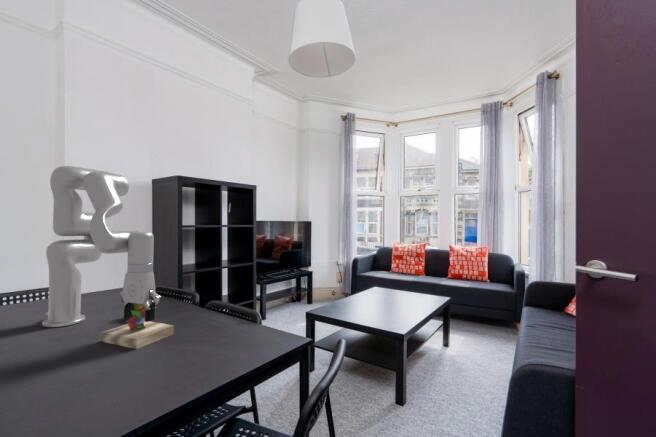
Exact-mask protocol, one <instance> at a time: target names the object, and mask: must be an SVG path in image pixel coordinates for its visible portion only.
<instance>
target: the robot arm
mask: <svg viewBox="0 0 656 437" xmlns="http://www.w3.org/2000/svg"><path fill="white" fill-rule="evenodd" d="M49 182H50V189H51V193H52V196H53V212H52V213H53V214H52V216H53V217H52V220H53V221H52V229H53V232H54V233H55V235H57V236H61V237H83V238H82V239H62V240H61V239H60V240H56V241H53V242H51V243H49V244H48V246H47V247H46V253H45V256H46V259H47V265H48V266H47V267H48V305H47V306H48V311H46V312H45V315H46V316H47V319H45V320H43V321H42V323H41V326H42V327H44V328H58V327H59V328H60V327H65V326H66V327H67V326H71V325H76V324H79V323H82V322H83V321H85V320H86V315H84V314H81V306H82V305H81V304H82V303H81V302H82V301H81V300H82V273H81V271H80V270H79V269H78V268H77V266H76V265H78V264H85V263H93V262H96V261H98V260H99V259H101V256H102V254H106V255H109V254H110V255H111V254H123V253H127V266H126V267H127V271H126V272H125V275H124V281H123V286H122V287H123V289H122V291H120V292H119V294H120V297H121V301H122V307H123V319H130V318H131V317H132V316H133V315H132V312H131V310H132V311H134V304H133V303H135V304H143V303H144V305H145V306H146V308H147V310H145V322H149V321H150V322H153V321H154V320H155V318H156V317H155V316H156V315H155V314H156V308H157V306H158V305H159V302H160V300H161V295H159V294H158V293H157V292H156V282H155V281H156V280H155V274H154V254H155V253H154V248H155V247H154V246H155V244H154V242H155V240H154V238H155V237H154V234H153V233H152V232H149V231H137V230H109V228H108V226H107V224H106V219H107V218H111V217H114V216H115V215H117V214H119V213H120V212H121V211H122V210H123V209H124V204H123V202H122V200H121V198H120V197H123V196H126V195H127V194H128V193H129V189H130V185H129V181H128V180H127V178H125V177H124V176H123V175H121V174H117V173H112V172H107V171H103V170H97V169H92V168H86V167H80V166H71V165H70V166H69V165H65V166H63V165H61V166H58V167H56V168H54V170H53V171H52V173H51V176H50V181H49ZM76 190H78V191H85V192H86V194H87V196H88V198H89V201H90V203H91V204H92V206H93V207H92V208H94V212H85V211H84V212H83V199H82V198H81V196H80V195H79V193H78V192H77V191H76ZM149 303H150V305H149ZM132 304H133V305H132ZM129 313H130V314H129ZM128 315H129V316H128Z"/></svg>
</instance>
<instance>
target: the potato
mask: <svg viewBox="0 0 656 437" xmlns="http://www.w3.org/2000/svg"><path fill="white" fill-rule="evenodd" d="M133 304H134V311H138V312H140V311H142V310H143V308H145V310H146V309H147V308H146V306H145V305H144V303H143V304H135V303H133ZM133 304H132V305H133ZM150 304H151V303H149V305H150Z"/></svg>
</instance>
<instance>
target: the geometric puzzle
mask: <svg viewBox="0 0 656 437" xmlns="http://www.w3.org/2000/svg"><path fill="white" fill-rule="evenodd" d="M146 310H147V309H146ZM131 312H132V315H133V316H132V317H129V318H127V319H126V321H125V323H126V324H128V325H129V326H128V327H130V330H131V331H132V330H133V329H135V328H136V327H141V328H144V329H146V328H145V326H144V323H143V322H144V321H145V308H143V310H142V311H140V312H138V311H132V310H131ZM129 314H130V313H129ZM128 316H129V315H128ZM147 324H148V323H147ZM147 324H146V325H147Z"/></svg>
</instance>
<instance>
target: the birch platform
mask: <svg viewBox="0 0 656 437" xmlns="http://www.w3.org/2000/svg"><path fill="white" fill-rule="evenodd" d="M143 323H144V326H145V328H146V329H144V328H141V327H136V328H135V329H133V330H132V331H131V330H130V327H128V326H129V325H128V323H126V324H123V325H119V326H118V327H114V328H111V329H108V330H103V331H101V338H100V340H101V343H105V344H111V345H116V346H120V347H125V348H129V349H135V350H138V349H140V348H143V347H146V346H148V345H150V344H152V343H155V342H158V341H160V340H162V339H164V338H168V337H171V336H172V335H174V332H175V331H174V330H175V325H173V324H168V323H161V322H155V321H149V322H145V321H144V322H143ZM147 323H148V324H147ZM146 324H147V325H146Z"/></svg>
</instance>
